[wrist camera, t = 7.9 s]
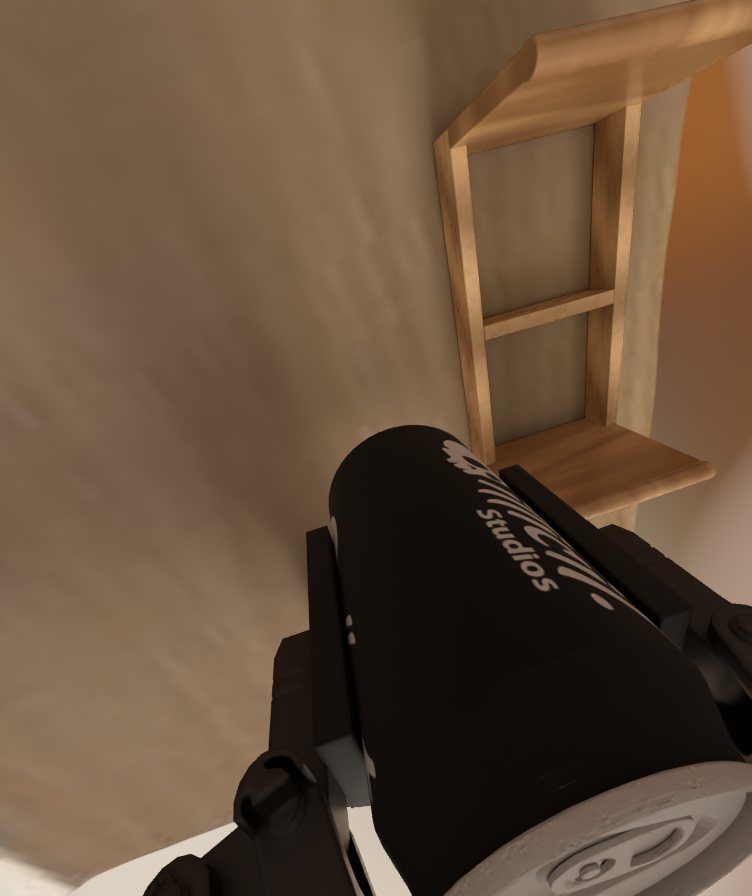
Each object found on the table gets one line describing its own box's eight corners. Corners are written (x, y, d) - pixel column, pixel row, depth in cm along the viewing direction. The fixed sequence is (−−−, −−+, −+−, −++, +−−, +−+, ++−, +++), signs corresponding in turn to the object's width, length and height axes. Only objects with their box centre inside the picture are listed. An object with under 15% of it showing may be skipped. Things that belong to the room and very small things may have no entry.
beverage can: (311, 436, 14) (356, 908, 3) (467, 403, 15) (903, 702, 4) (342, 560, 17) (419, 1030, 6) (471, 527, 18) (737, 894, 7)
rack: (431, 141, 22) (536, 26, 12) (609, 98, 23) (835, -39, 13) (473, 463, 32) (547, 538, 22) (594, 425, 33) (714, 481, 23)
